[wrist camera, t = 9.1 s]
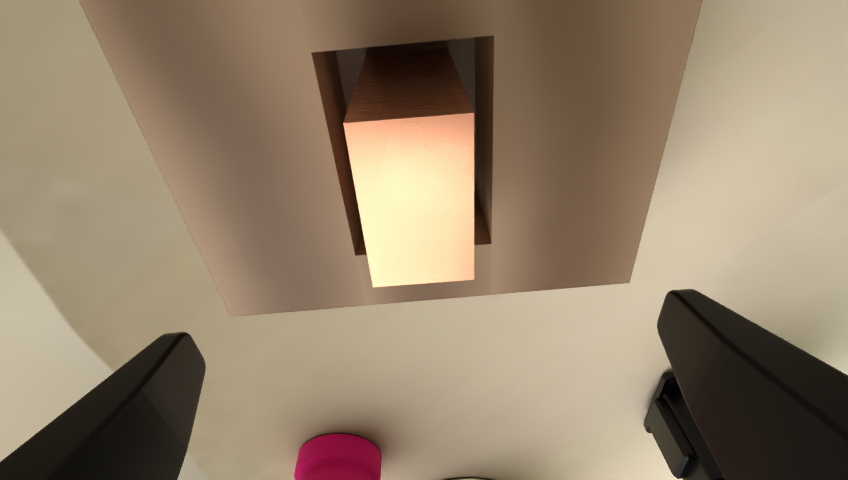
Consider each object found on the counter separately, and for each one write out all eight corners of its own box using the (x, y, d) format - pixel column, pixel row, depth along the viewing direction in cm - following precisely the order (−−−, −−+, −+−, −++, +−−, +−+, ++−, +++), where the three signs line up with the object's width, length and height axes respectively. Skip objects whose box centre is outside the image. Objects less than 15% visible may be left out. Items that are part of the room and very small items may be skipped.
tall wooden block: (448, 48, 16) (473, 112, 10) (452, 173, 18) (474, 279, 13) (365, 54, 16) (343, 123, 10) (382, 178, 18) (373, 287, 13)
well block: (635, -91, 14) (728, -102, 10) (585, 215, 21) (629, 282, 17) (157, -45, 14) (60, -37, 10) (263, 244, 21) (229, 316, 17)
